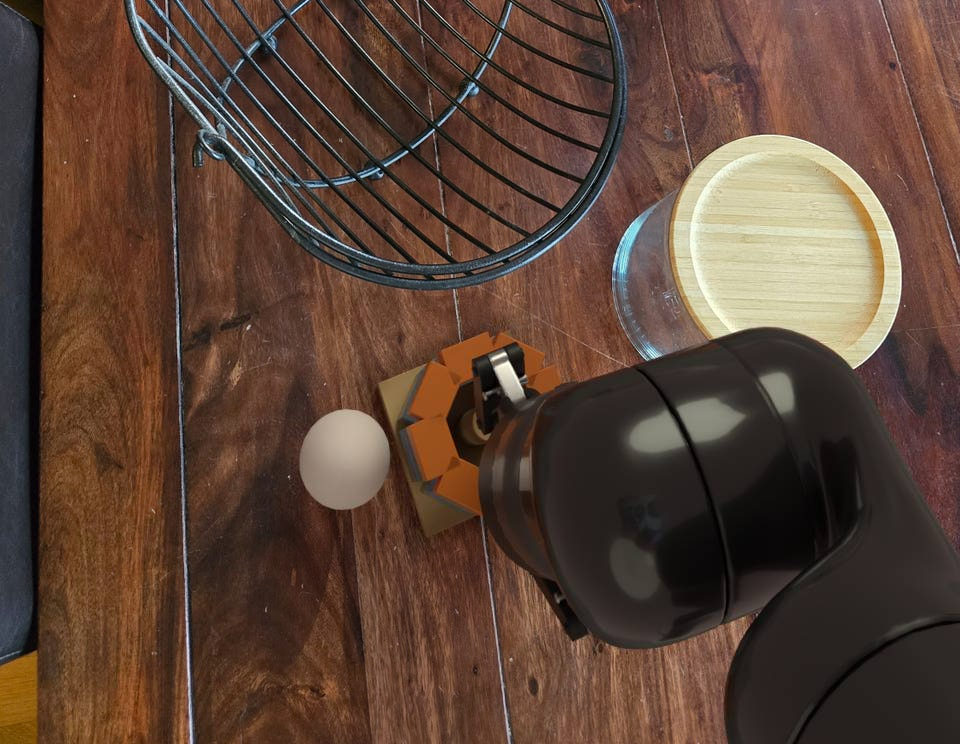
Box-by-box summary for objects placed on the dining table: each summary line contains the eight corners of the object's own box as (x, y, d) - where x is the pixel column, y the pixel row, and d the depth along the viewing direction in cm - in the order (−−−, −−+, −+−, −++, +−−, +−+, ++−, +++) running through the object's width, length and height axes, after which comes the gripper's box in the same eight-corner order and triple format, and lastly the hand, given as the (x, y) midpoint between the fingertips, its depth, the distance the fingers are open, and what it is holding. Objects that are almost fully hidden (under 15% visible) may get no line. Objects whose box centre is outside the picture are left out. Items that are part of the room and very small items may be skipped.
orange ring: (588, 472, 64) (596, 471, 62) (442, 539, 61) (446, 540, 60) (528, 316, 67) (534, 312, 66) (387, 374, 65) (390, 370, 63)
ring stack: (560, 475, 71) (594, 473, 63) (425, 537, 69) (443, 542, 61) (506, 332, 75) (532, 312, 67) (376, 384, 72) (387, 371, 64)
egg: (402, 449, 71) (414, 444, 64) (349, 529, 68) (355, 532, 62) (335, 394, 72) (340, 384, 65) (280, 471, 69) (280, 468, 63)
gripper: (440, 351, 50) (403, 385, 65) (564, 708, 44) (493, 654, 59) (594, 288, 52) (524, 335, 67) (730, 622, 46) (620, 591, 62)
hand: (509, 485), depth 63 cm, fingers closed on orange ring, 2 cm apart
